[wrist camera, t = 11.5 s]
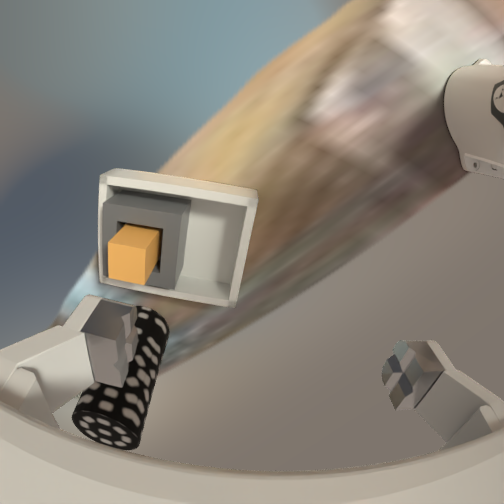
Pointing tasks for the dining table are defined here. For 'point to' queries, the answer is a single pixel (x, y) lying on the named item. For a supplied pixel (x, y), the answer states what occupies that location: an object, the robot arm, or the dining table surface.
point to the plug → (134, 253)
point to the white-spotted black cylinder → (125, 390)
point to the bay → (204, 233)
